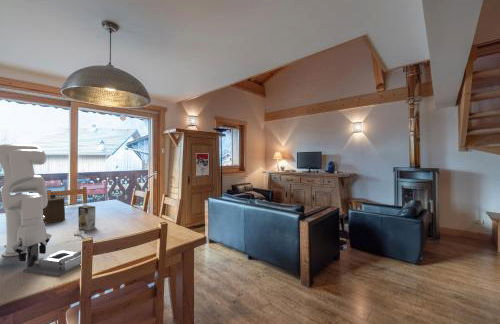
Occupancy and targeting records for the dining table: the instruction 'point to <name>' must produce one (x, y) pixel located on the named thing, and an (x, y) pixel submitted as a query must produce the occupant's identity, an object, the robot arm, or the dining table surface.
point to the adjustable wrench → (81, 234)
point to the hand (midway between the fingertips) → (32, 256)
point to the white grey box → (62, 259)
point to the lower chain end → (37, 264)
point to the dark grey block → (32, 255)
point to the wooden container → (54, 209)
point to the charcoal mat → (47, 271)
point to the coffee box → (86, 217)
